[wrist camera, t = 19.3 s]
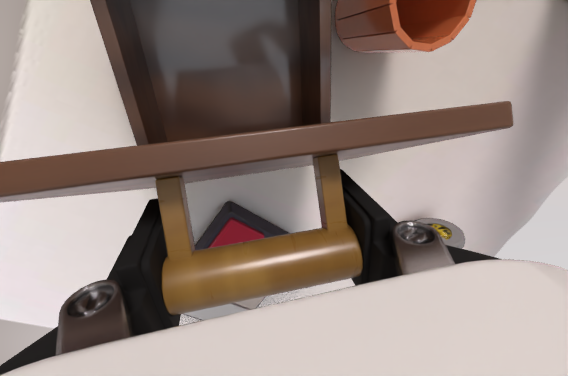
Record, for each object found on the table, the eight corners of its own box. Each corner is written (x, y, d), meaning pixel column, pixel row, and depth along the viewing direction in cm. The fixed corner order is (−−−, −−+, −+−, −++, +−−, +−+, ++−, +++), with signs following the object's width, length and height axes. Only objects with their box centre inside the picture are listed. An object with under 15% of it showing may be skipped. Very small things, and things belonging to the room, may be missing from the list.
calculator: (306, 254, 34) (237, 337, 36) (296, 235, 37) (235, 311, 40) (229, 214, 29) (158, 312, 32) (227, 197, 33) (164, 286, 36)
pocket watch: (406, 261, 43) (453, 314, 34) (379, 233, 40) (423, 284, 31) (448, 228, 42) (508, 274, 33) (424, 196, 38) (485, 238, 29)
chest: (111, -35, 22) (67, -70, 16) (304, -40, 24) (332, -72, 18) (164, 154, 29) (148, 181, 23) (309, 136, 31) (330, 156, 25)
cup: (387, -38, 25) (476, -88, 16) (401, 35, 28) (482, 26, 19) (325, -6, 25) (380, -39, 17) (345, 63, 28) (401, 66, 20)
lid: (-124, 176, 6) (-74, 400, 6) (513, 99, 8) (529, 263, 8) (146, 178, 22) (156, 239, 22) (331, 153, 25) (338, 208, 25)
